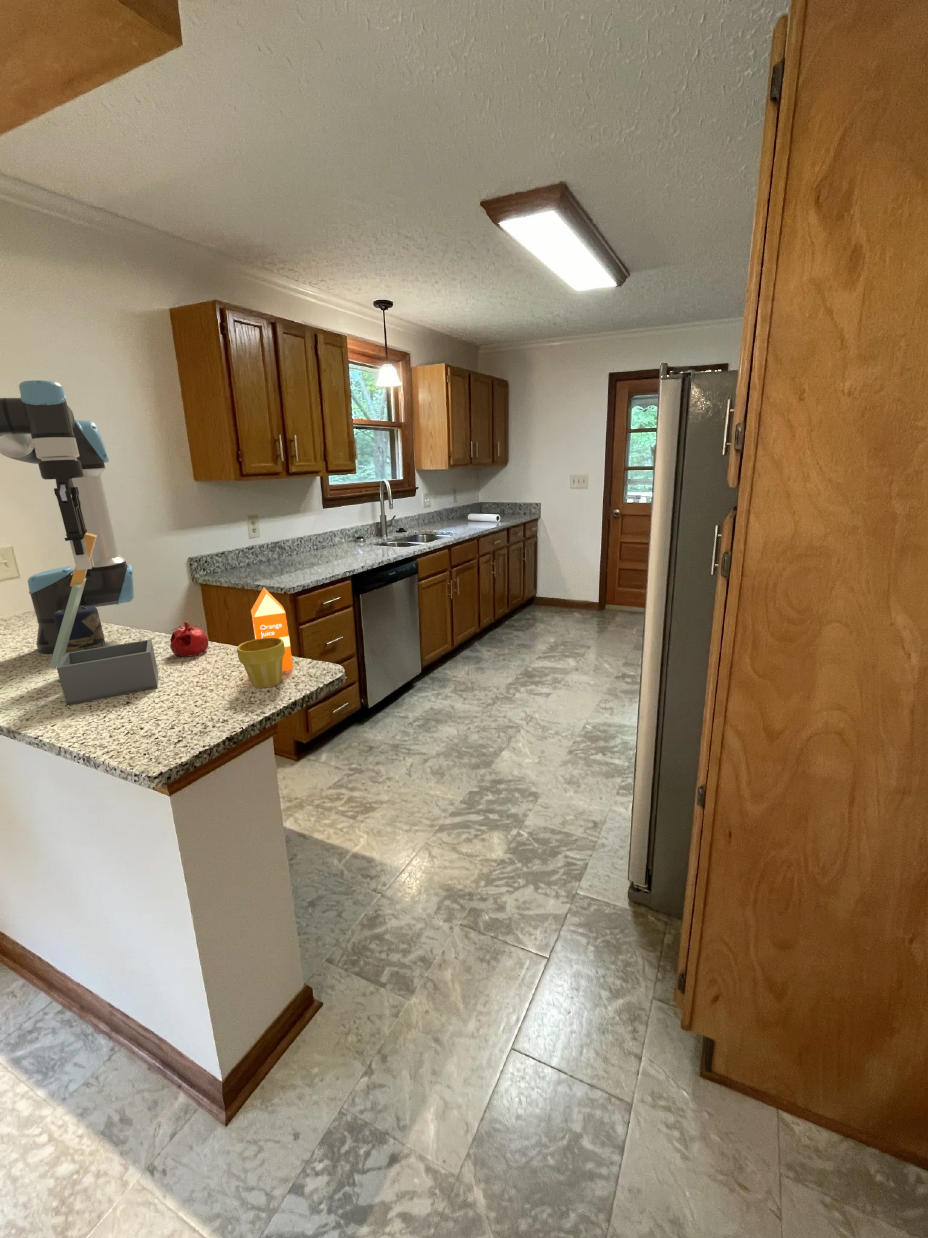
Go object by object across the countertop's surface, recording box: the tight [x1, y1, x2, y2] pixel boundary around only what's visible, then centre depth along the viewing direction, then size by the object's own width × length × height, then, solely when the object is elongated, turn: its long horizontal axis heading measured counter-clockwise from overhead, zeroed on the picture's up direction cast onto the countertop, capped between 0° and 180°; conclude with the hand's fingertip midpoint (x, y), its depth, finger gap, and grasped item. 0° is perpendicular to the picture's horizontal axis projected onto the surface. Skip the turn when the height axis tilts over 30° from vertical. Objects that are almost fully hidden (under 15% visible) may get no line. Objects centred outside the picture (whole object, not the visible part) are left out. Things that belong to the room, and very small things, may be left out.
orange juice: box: [250, 587, 294, 671], centre depth 140 cm, size 8×9×20 cm
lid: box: [49, 533, 97, 669], centre depth 125 cm, size 13×30×2 cm
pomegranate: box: [169, 621, 209, 657], centre depth 155 cm, size 10×10×9 cm
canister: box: [53, 606, 107, 655], centre depth 143 cm, size 10×10×18 cm
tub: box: [56, 638, 159, 706], centre depth 132 cm, size 12×18×9 cm, turn 117°
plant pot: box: [236, 637, 285, 689], centre depth 130 cm, size 10×10×10 cm
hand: (85, 567), depth 125 cm, fingers closed on lid, 4 cm apart
